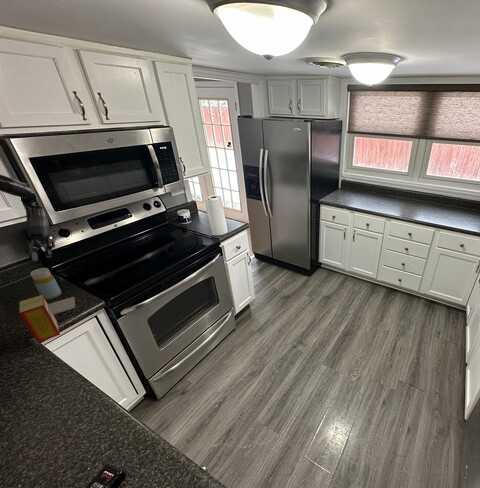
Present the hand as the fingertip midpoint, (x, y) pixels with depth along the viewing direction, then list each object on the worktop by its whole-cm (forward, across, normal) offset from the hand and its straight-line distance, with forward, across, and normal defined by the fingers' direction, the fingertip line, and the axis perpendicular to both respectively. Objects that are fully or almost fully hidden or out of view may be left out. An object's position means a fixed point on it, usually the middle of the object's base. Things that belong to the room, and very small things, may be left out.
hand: (41, 259), depth 129 cm
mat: (+25, +7, 0) cm, 26 cm away
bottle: (+19, -3, +5) cm, 20 cm away
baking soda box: (+35, +18, -12) cm, 41 cm away
